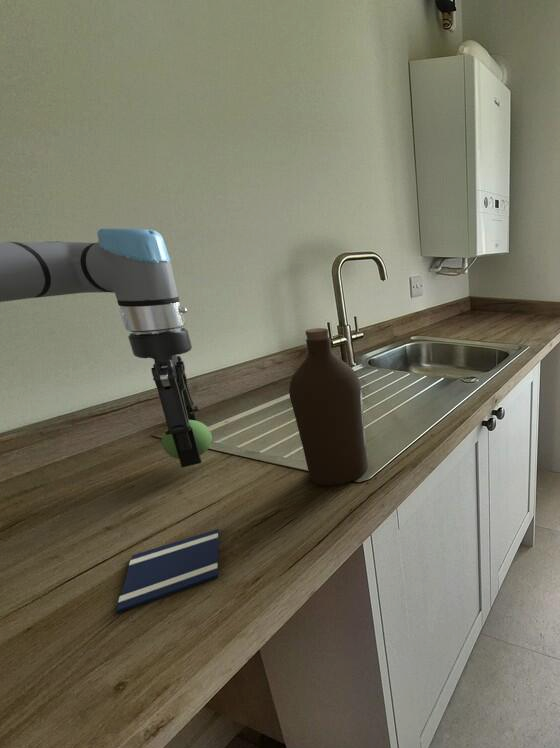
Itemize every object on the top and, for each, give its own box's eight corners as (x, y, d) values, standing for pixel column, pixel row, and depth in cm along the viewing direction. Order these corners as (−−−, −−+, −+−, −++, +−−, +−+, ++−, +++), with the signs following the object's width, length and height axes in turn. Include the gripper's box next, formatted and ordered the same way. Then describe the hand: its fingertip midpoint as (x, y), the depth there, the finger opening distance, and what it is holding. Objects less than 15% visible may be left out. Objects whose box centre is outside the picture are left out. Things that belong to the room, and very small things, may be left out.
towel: (133, 557, 52) (132, 554, 52) (218, 531, 56) (217, 528, 56) (117, 613, 44) (115, 610, 44) (218, 577, 49) (217, 573, 48)
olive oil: (321, 496, 64) (292, 340, 56) (296, 472, 71) (267, 330, 63) (382, 470, 71) (365, 329, 63) (354, 450, 78) (335, 321, 70)
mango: (169, 454, 75) (159, 419, 72) (215, 444, 78) (207, 410, 76) (165, 471, 69) (154, 433, 67) (215, 459, 73) (206, 424, 71)
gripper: (182, 338, 61) (217, 473, 68) (190, 318, 76) (218, 430, 84) (114, 344, 57) (159, 487, 64) (137, 322, 72) (171, 439, 80)
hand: (192, 455), depth 74 cm, fingers closed on mango, 7 cm apart
